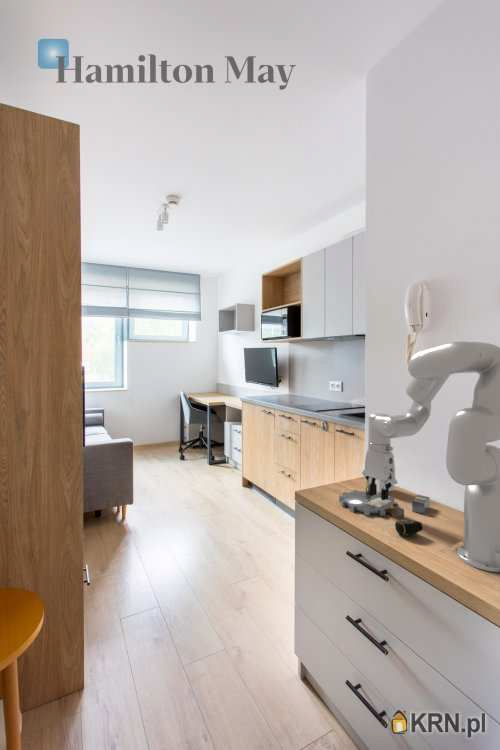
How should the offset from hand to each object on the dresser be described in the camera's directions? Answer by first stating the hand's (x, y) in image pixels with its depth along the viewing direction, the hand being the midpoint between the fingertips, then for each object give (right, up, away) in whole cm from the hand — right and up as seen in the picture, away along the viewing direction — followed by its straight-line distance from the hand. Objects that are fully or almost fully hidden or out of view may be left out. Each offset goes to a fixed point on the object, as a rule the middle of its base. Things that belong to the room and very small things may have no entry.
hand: (378, 496), depth 131 cm
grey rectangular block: (+15, -5, 0) cm, 16 cm away
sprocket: (-3, -5, +4) cm, 6 cm away
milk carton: (+9, -4, +21) cm, 24 cm away
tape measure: (+5, -5, -20) cm, 21 cm away
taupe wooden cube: (+4, -5, -7) cm, 9 cm away
